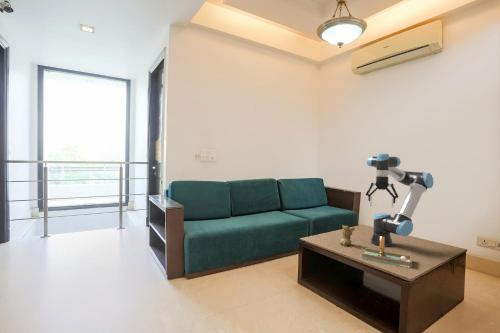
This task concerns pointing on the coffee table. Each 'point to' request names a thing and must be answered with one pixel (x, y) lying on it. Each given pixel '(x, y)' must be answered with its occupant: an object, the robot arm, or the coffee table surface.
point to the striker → (382, 248)
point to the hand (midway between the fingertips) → (381, 206)
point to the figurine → (346, 236)
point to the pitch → (387, 258)
